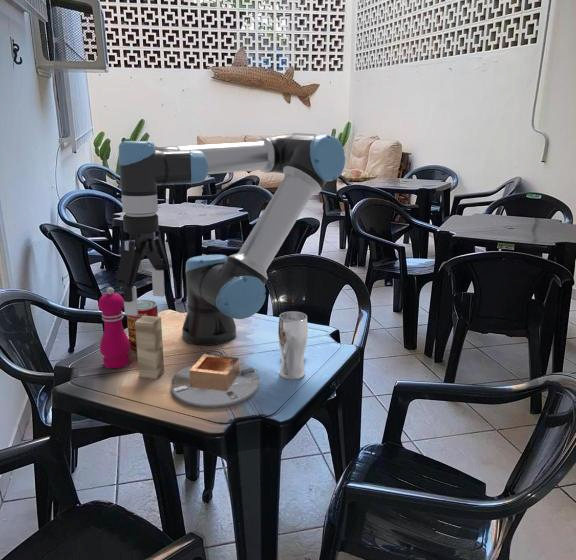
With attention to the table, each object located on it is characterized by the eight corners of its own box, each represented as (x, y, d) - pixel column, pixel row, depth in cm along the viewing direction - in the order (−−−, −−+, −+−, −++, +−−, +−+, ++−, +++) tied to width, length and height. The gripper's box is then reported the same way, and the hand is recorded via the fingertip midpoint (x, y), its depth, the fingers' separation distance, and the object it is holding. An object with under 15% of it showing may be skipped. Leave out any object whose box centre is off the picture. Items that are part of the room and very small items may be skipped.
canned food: (123, 348, 141) (119, 306, 137) (144, 338, 147) (141, 298, 144) (144, 355, 137) (141, 312, 134) (165, 344, 144) (163, 303, 140)
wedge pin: (147, 368, 130) (143, 315, 126) (164, 370, 129) (160, 317, 125) (139, 376, 126) (134, 321, 122) (156, 378, 125) (152, 323, 121)
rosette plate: (191, 362, 133) (190, 342, 132) (268, 371, 129) (268, 350, 128) (156, 401, 115) (154, 379, 113) (244, 413, 111) (244, 389, 109)
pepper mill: (95, 366, 131) (87, 289, 125) (116, 355, 137) (109, 281, 131) (117, 372, 128) (110, 294, 122) (137, 360, 134) (132, 285, 128)
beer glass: (290, 365, 133) (291, 309, 128) (312, 373, 129) (314, 315, 124) (272, 374, 128) (272, 316, 123) (294, 383, 123) (295, 323, 119)
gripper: (150, 204, 128) (155, 287, 134) (93, 222, 105) (101, 322, 111) (179, 206, 127) (182, 290, 133) (127, 224, 103) (134, 325, 110)
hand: (145, 304), depth 122 cm, fingers open, 13 cm apart
